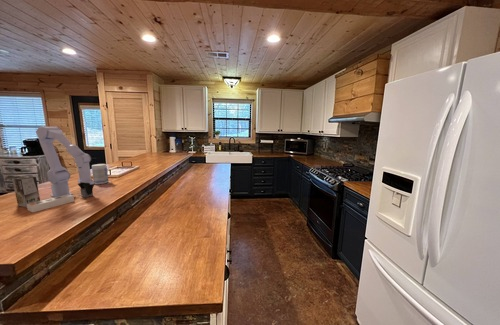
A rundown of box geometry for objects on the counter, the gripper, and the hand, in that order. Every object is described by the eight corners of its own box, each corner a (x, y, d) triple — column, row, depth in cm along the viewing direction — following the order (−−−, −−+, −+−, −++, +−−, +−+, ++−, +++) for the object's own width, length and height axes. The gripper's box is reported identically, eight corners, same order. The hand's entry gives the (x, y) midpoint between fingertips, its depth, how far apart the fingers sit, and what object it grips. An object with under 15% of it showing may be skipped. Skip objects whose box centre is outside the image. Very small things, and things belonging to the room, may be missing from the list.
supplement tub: (109, 183, 161) (107, 164, 158) (94, 185, 154) (92, 166, 152) (107, 180, 168) (105, 163, 165) (93, 182, 161) (90, 164, 159)
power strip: (32, 212, 106) (31, 205, 105) (27, 210, 109) (26, 203, 108) (74, 201, 122) (73, 195, 121) (69, 199, 125) (68, 193, 124)
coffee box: (41, 203, 118) (36, 176, 115) (26, 207, 112) (21, 179, 109) (32, 201, 121) (27, 175, 118) (17, 205, 115) (11, 177, 112)
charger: (81, 198, 126) (80, 190, 125) (77, 197, 128) (76, 189, 127) (93, 195, 132) (92, 188, 131) (89, 194, 134) (88, 187, 133)
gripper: (71, 173, 128) (74, 193, 130) (83, 175, 122) (86, 197, 124) (84, 171, 134) (86, 190, 137) (96, 173, 128) (99, 194, 130)
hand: (87, 193), depth 131 cm, fingers closed on charger, 4 cm apart
